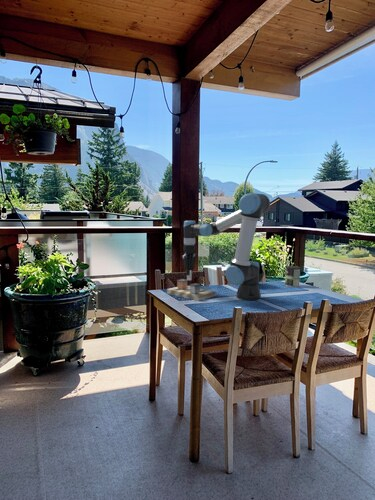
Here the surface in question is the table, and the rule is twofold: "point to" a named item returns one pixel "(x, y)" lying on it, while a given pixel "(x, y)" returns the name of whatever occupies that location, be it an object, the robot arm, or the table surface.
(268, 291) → the table surface
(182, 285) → the fader terracotta
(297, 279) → the coffee can
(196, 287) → the fader grey
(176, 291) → the tan muffin tray
